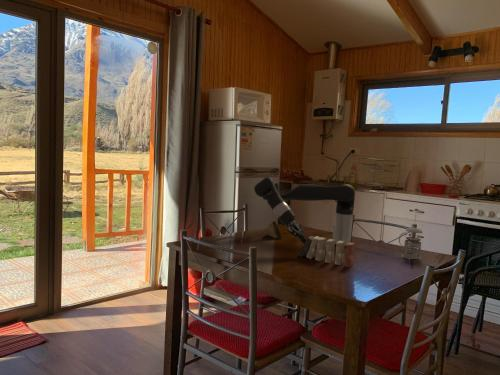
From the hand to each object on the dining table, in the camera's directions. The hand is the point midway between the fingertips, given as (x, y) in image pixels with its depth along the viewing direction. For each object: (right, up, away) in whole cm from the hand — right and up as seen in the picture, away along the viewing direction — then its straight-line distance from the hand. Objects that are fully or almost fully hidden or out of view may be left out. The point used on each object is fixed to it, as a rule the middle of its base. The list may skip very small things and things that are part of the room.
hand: (305, 242), depth 189 cm
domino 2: (+2, -7, -1) cm, 7 cm away
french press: (+54, -9, +13) cm, 56 cm away
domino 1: (-2, -6, +1) cm, 7 cm away
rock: (-12, -3, +39) cm, 41 cm away
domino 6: (+18, -9, -10) cm, 22 cm away
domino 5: (+14, -9, -7) cm, 18 cm away
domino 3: (+6, -8, -3) cm, 10 cm away
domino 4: (+10, -8, -5) cm, 14 cm away
